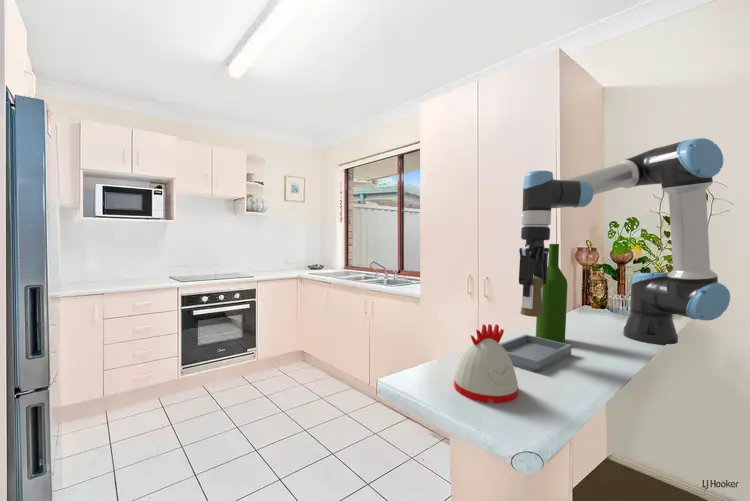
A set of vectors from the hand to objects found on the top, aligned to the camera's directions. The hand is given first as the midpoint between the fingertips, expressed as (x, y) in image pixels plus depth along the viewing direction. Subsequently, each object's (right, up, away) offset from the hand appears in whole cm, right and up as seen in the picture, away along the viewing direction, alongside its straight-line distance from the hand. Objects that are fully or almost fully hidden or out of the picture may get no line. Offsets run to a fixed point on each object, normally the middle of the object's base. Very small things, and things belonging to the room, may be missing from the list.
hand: (531, 306), depth 103 cm
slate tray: (0, -15, +1) cm, 15 cm away
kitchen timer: (-20, -16, -21) cm, 33 cm away
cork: (0, -2, 0) cm, 2 cm away
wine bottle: (+14, -14, +18) cm, 27 cm away
